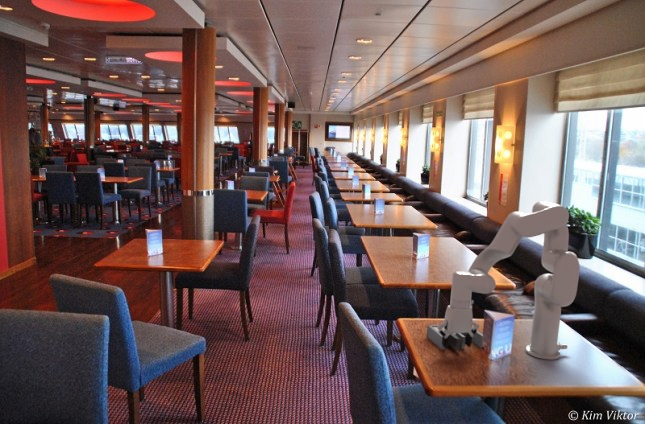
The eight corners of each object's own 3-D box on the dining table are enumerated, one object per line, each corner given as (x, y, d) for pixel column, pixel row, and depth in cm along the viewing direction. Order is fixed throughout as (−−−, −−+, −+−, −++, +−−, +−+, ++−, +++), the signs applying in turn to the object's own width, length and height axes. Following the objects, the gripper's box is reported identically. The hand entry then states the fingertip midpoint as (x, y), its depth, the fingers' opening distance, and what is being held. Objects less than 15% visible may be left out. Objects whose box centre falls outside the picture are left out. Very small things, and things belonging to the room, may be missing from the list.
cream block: (445, 337, 219) (446, 324, 218) (464, 352, 204) (465, 339, 203) (432, 337, 218) (433, 324, 217) (450, 353, 202) (451, 339, 202)
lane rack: (465, 334, 223) (467, 323, 222) (483, 348, 210) (484, 335, 209) (426, 336, 219) (427, 325, 218) (442, 350, 205) (443, 337, 205)
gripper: (475, 299, 207) (471, 341, 210) (435, 300, 203) (431, 343, 206) (485, 305, 200) (481, 349, 203) (444, 307, 196) (440, 351, 198)
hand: (456, 346), depth 204 cm, fingers open, 9 cm apart
